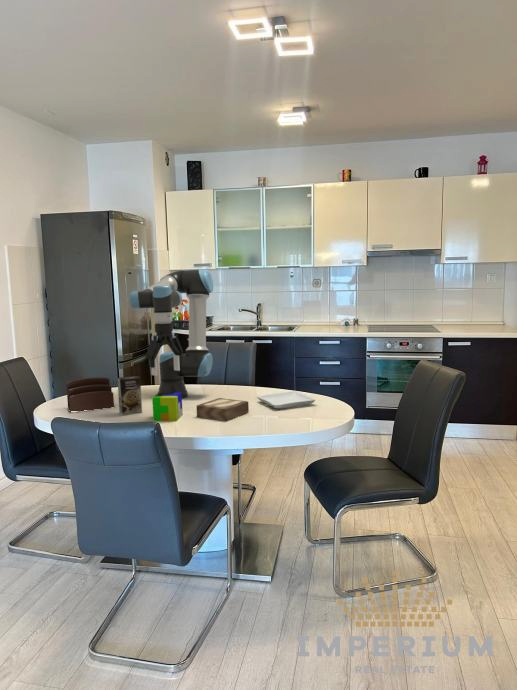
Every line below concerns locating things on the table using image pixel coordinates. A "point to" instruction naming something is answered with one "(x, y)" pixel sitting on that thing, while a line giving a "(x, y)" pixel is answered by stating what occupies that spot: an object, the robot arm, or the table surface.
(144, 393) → the table surface
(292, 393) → the salad plate
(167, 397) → the puzzle toy
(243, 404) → the plinth
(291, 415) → the table surface
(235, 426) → the table surface
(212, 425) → the table surface
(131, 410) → the coffee box
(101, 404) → the letter holder
